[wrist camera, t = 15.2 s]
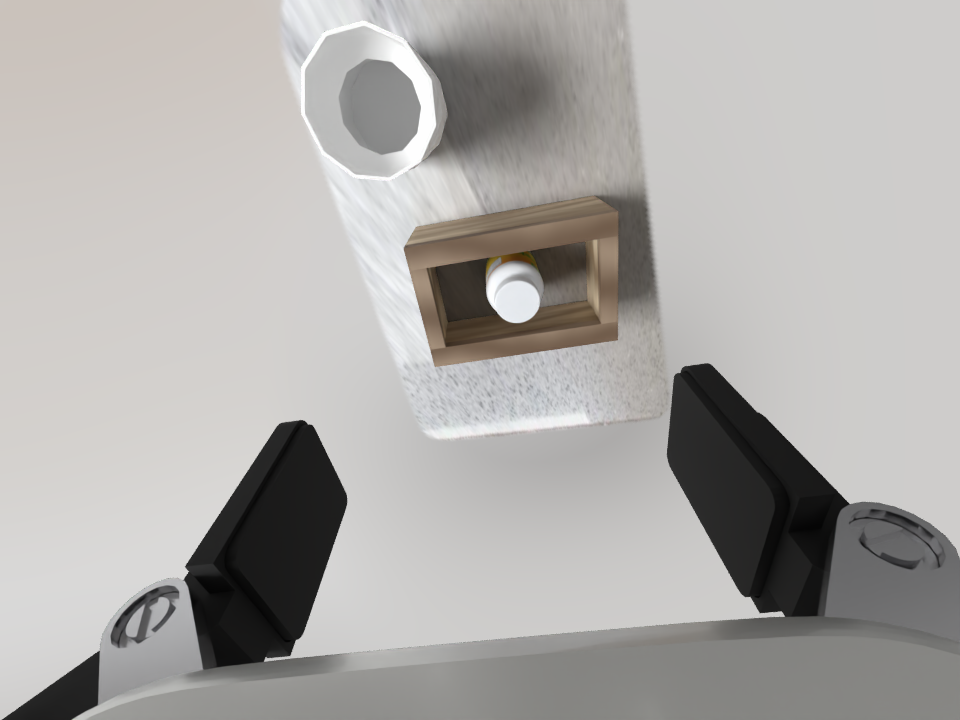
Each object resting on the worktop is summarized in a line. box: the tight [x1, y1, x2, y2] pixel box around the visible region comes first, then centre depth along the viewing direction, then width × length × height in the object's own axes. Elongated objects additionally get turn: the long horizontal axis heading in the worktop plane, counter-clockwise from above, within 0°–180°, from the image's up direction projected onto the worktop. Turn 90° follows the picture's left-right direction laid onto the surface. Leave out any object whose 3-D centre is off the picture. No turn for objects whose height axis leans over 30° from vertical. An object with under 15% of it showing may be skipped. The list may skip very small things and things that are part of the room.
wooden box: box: [404, 196, 619, 367], centre depth 40 cm, size 12×18×8 cm, turn 99°
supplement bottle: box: [486, 251, 544, 323], centre depth 39 cm, size 5×5×10 cm
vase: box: [301, 20, 448, 181], centre depth 31 cm, size 9×9×12 cm
